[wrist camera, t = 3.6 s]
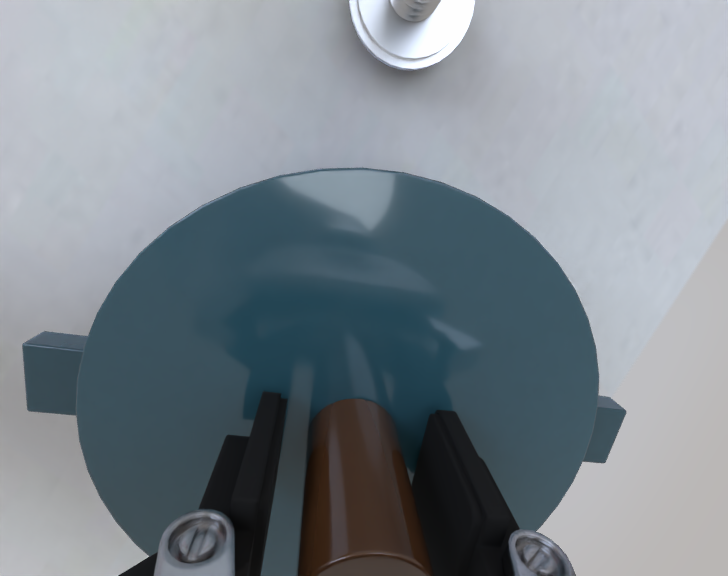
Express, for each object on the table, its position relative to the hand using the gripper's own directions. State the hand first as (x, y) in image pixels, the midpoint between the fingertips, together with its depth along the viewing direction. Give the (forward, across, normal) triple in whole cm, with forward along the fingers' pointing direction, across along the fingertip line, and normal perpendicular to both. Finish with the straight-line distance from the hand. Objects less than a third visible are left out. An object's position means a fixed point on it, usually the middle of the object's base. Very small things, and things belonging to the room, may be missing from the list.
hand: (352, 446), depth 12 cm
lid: (+1, 0, 0) cm, 1 cm away
